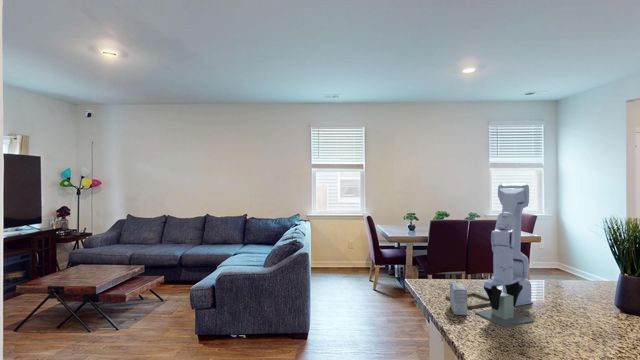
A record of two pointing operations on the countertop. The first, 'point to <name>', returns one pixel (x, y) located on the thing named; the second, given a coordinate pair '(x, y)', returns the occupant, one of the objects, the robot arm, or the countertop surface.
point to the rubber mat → (509, 322)
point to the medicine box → (458, 298)
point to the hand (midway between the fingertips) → (503, 307)
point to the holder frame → (476, 305)
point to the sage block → (504, 307)
